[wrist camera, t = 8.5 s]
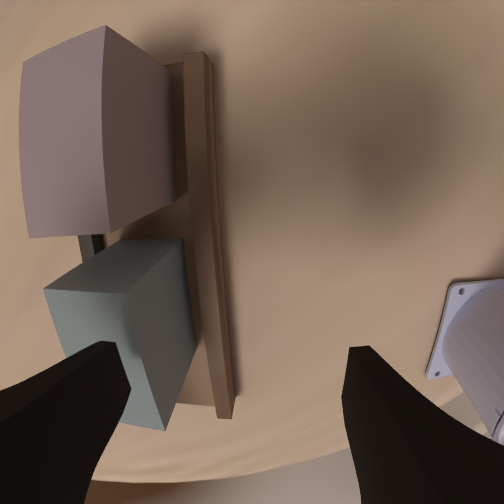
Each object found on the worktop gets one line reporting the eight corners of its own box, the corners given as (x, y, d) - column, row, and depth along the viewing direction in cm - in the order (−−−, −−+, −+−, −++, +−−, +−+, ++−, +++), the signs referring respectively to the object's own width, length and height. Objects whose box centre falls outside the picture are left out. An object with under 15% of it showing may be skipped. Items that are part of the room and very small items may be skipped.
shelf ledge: (212, 63, 14) (203, 51, 12) (235, 397, 20) (231, 419, 18) (86, 90, 15) (66, 85, 12) (134, 388, 21) (124, 406, 19)
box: (171, 72, 13) (105, 25, 7) (177, 200, 15) (110, 233, 9) (103, 87, 14) (20, 64, 7) (109, 205, 16) (26, 238, 9)
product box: (183, 238, 16) (125, 293, 9) (197, 347, 18) (165, 431, 11) (116, 240, 16) (40, 288, 10) (137, 342, 18) (89, 414, 12)
